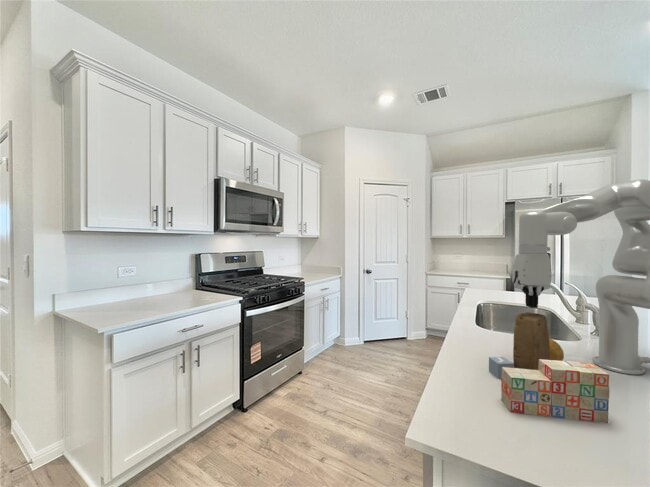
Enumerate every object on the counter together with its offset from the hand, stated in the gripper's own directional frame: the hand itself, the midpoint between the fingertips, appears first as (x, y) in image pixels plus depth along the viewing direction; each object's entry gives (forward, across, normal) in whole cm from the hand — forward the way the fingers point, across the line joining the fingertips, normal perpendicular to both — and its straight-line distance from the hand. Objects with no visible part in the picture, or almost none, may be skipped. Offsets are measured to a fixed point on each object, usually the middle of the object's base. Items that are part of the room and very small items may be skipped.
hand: (531, 306), depth 93 cm
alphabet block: (+23, +10, 0) cm, 25 cm away
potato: (+22, -11, -11) cm, 28 cm away
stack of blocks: (+23, +8, +19) cm, 31 cm away
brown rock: (+23, 0, 0) cm, 23 cm away
